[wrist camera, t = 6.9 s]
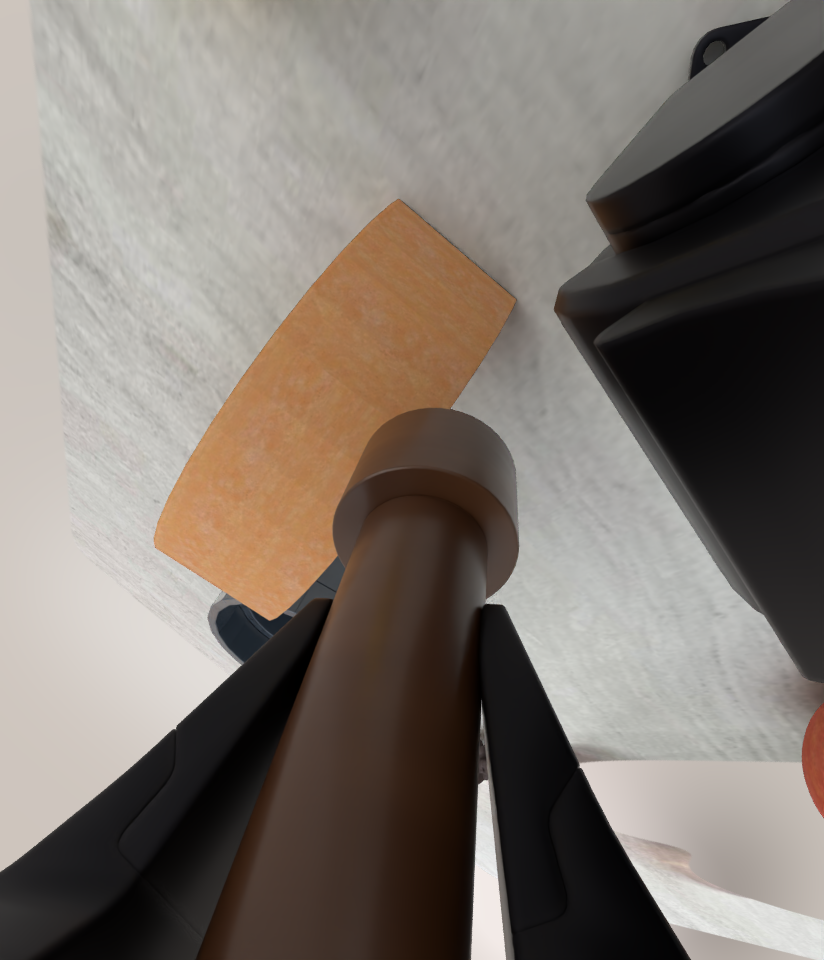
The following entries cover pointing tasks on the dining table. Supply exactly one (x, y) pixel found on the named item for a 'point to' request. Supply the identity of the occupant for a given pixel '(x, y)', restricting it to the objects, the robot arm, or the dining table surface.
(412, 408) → the arch
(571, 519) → the dining table surface
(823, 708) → the apple
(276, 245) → the dining table surface
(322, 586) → the bowl
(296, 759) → the muddler
